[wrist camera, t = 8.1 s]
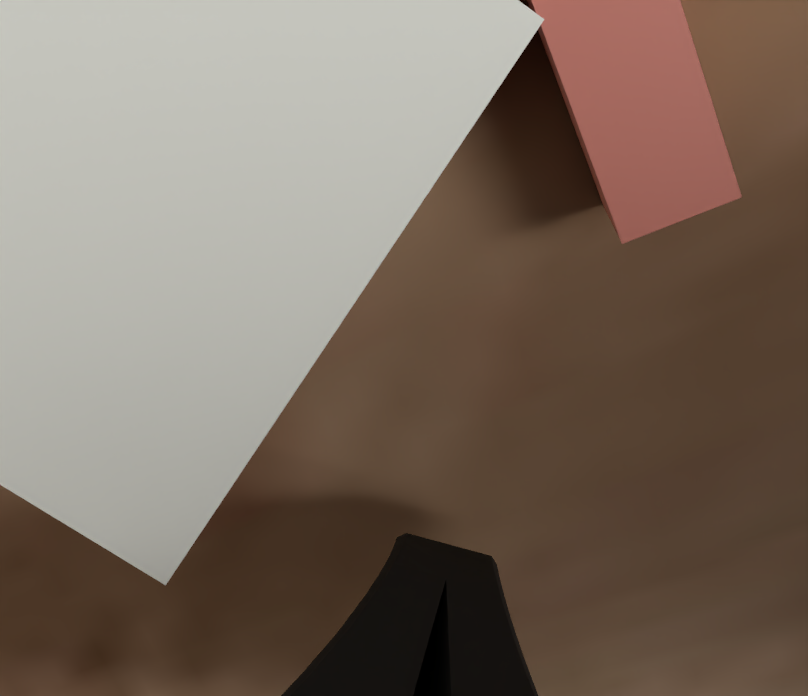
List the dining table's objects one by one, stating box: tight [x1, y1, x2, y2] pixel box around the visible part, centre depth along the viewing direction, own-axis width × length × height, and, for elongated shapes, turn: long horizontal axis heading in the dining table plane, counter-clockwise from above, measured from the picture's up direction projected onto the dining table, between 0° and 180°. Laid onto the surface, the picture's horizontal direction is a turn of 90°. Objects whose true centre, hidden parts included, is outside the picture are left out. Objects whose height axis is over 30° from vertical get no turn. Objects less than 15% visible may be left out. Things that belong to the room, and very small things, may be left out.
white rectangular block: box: [0, 0, 544, 585], centre depth 8 cm, size 4×6×4 cm
